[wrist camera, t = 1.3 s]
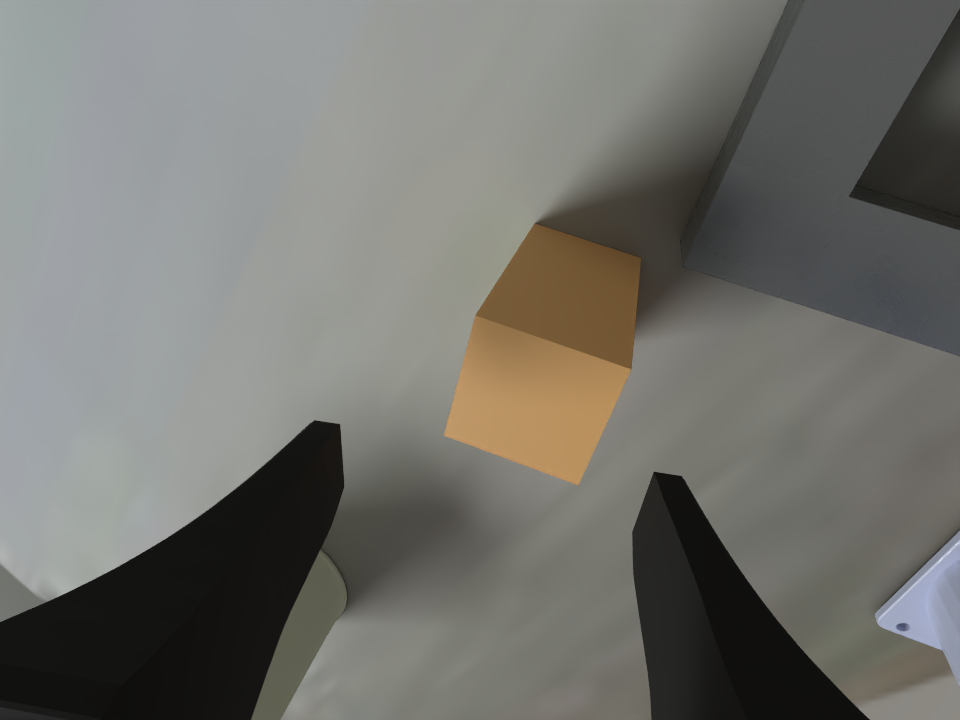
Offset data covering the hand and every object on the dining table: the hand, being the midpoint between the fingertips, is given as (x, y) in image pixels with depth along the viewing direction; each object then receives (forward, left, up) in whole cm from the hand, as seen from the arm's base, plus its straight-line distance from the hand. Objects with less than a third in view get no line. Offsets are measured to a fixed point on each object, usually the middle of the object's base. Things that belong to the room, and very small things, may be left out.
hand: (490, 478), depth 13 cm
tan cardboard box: (0, -1, -11) cm, 11 cm away
